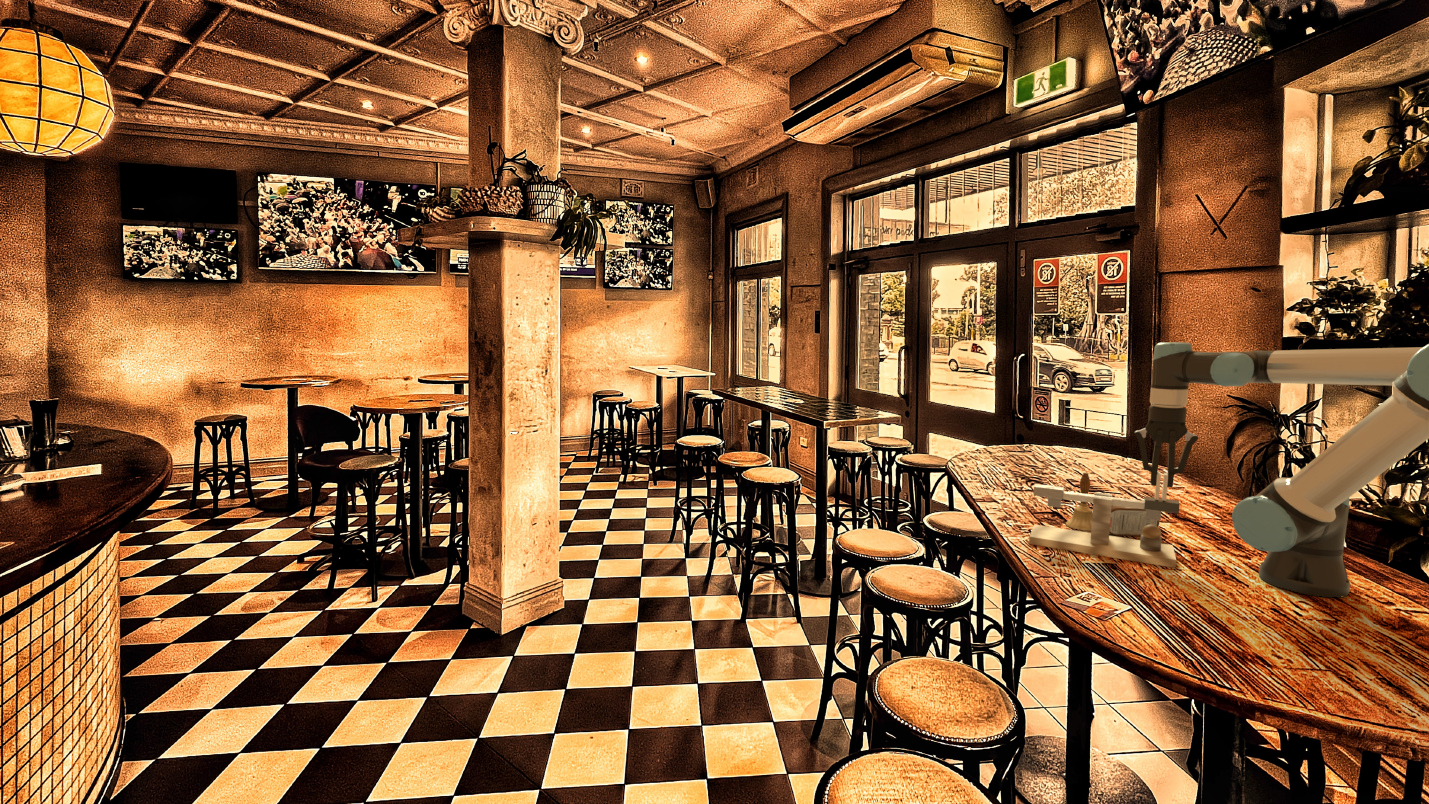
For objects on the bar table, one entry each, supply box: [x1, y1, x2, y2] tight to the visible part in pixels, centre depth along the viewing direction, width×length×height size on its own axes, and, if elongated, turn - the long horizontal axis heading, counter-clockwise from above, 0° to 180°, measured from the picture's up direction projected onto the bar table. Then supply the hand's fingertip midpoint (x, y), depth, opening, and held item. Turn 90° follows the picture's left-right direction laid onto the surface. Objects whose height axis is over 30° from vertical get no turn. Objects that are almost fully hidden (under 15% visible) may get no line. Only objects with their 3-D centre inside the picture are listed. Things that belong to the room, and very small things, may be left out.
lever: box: [1033, 483, 1180, 522], centre depth 166 cm, size 32×4×5 cm, turn 58°
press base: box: [1028, 492, 1177, 569], centre depth 166 cm, size 32×12×14 cm, turn 58°
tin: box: [1109, 505, 1161, 537], centre depth 177 cm, size 15×3×8 cm, turn 84°
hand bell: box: [1065, 472, 1093, 532], centre depth 184 cm, size 8×8×16 cm
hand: (1160, 498), depth 159 cm, fingers closed, pressing on lever
